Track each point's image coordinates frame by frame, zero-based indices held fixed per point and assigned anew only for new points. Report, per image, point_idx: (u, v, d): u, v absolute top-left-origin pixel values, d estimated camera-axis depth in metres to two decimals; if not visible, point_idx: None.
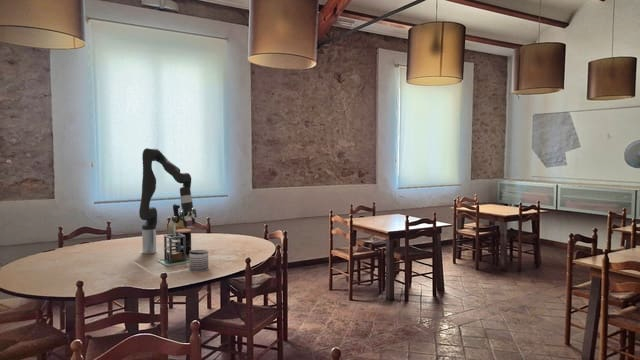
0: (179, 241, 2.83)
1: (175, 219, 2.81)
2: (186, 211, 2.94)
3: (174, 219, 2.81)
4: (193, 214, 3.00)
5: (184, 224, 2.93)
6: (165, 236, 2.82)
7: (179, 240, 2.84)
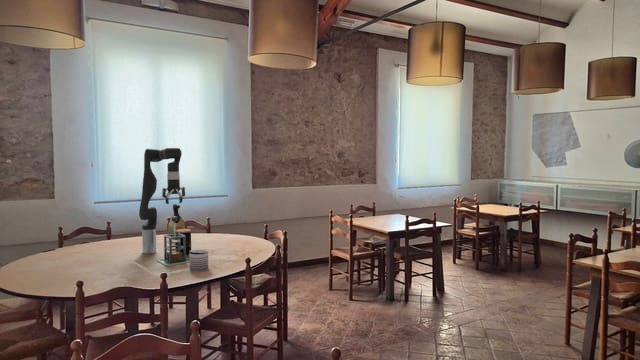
0: (179, 241, 2.83)
1: (175, 219, 2.81)
2: (170, 188, 2.79)
3: (174, 219, 2.81)
4: (179, 192, 2.82)
5: None
6: (165, 236, 2.82)
7: (179, 240, 2.84)
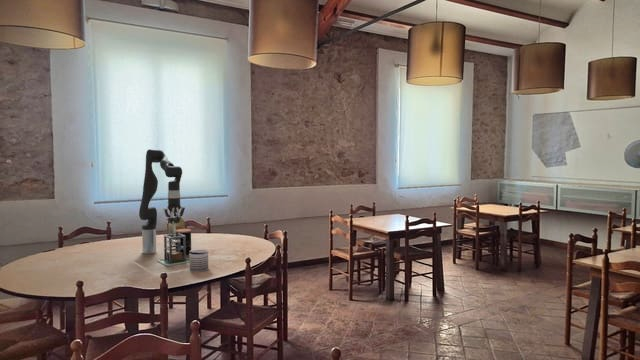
0: (179, 241, 2.83)
1: (175, 219, 2.81)
2: (170, 207, 2.79)
3: (174, 219, 2.81)
4: (178, 212, 2.82)
5: (170, 221, 2.81)
6: (165, 236, 2.82)
7: (179, 240, 2.84)
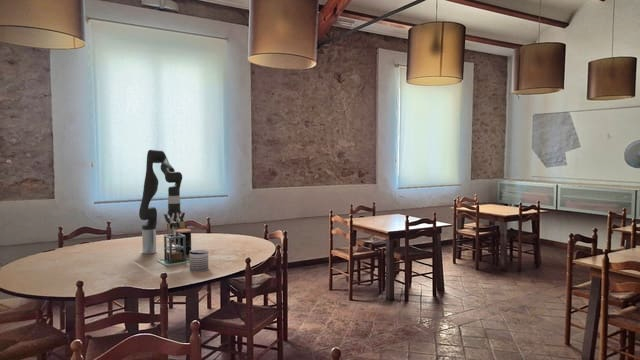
0: (179, 246, 2.83)
1: (175, 224, 2.82)
2: (170, 212, 2.80)
3: (174, 224, 2.81)
4: (178, 217, 2.83)
5: (170, 226, 2.81)
6: (165, 236, 2.82)
7: (179, 245, 2.84)
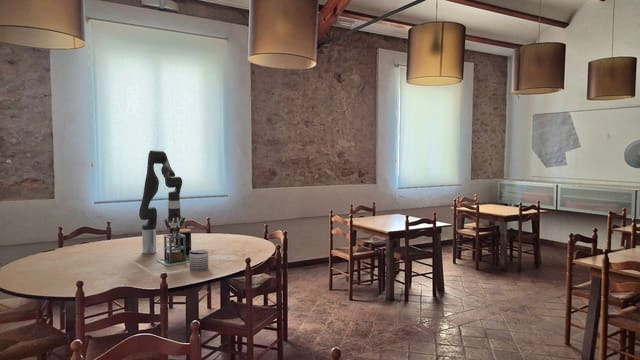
0: (179, 251, 2.83)
1: (175, 229, 2.82)
2: (170, 217, 2.80)
3: (174, 229, 2.82)
4: (178, 222, 2.83)
5: None
6: (165, 236, 2.82)
7: (179, 250, 2.84)
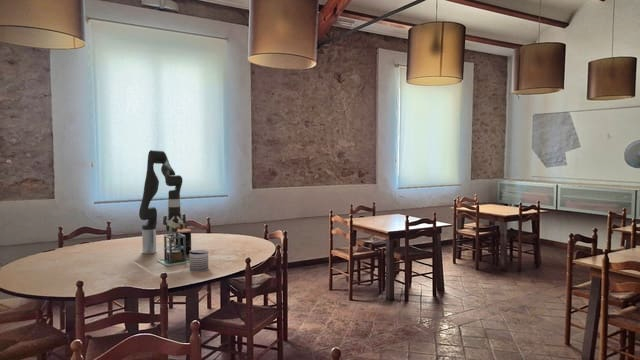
0: (179, 251, 2.83)
1: (175, 229, 2.82)
2: (171, 216, 2.80)
3: (174, 229, 2.82)
4: (180, 219, 2.83)
5: None
6: (165, 236, 2.82)
7: (179, 250, 2.84)
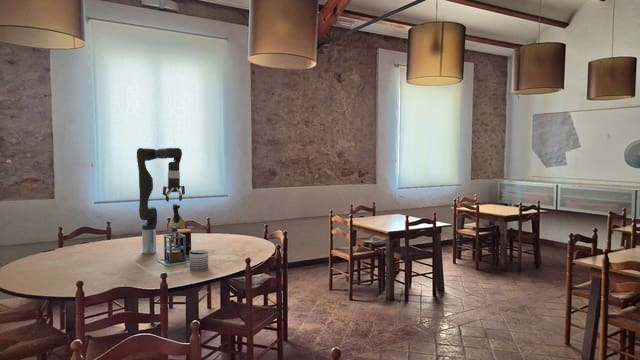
0: (179, 251, 2.83)
1: (175, 229, 2.82)
2: (170, 187, 2.89)
3: (174, 229, 2.82)
4: (179, 191, 2.93)
5: None
6: (165, 236, 2.82)
7: (179, 250, 2.84)
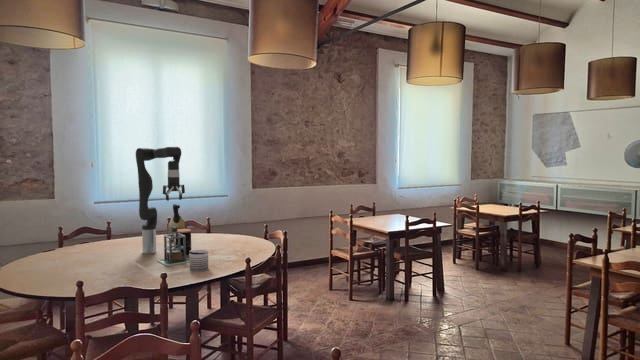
0: (179, 251, 2.83)
1: (175, 229, 2.82)
2: (170, 186, 2.90)
3: (174, 229, 2.82)
4: (179, 189, 2.93)
5: None
6: (165, 236, 2.82)
7: (179, 250, 2.84)
